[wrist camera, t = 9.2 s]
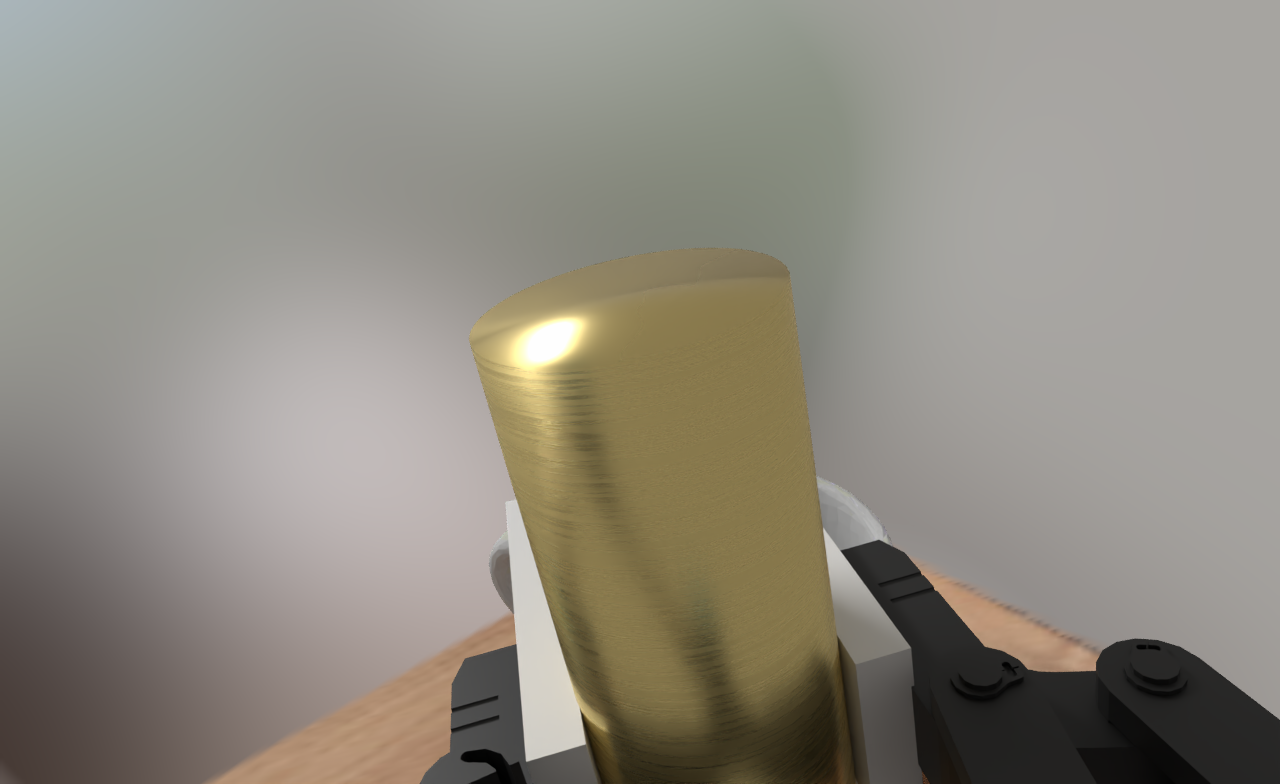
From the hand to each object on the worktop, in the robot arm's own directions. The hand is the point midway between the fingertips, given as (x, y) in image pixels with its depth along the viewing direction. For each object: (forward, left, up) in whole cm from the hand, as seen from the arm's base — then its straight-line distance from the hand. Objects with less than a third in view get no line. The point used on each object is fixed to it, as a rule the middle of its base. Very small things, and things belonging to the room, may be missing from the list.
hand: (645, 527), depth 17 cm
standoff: (0, -6, -9) cm, 10 cm away
